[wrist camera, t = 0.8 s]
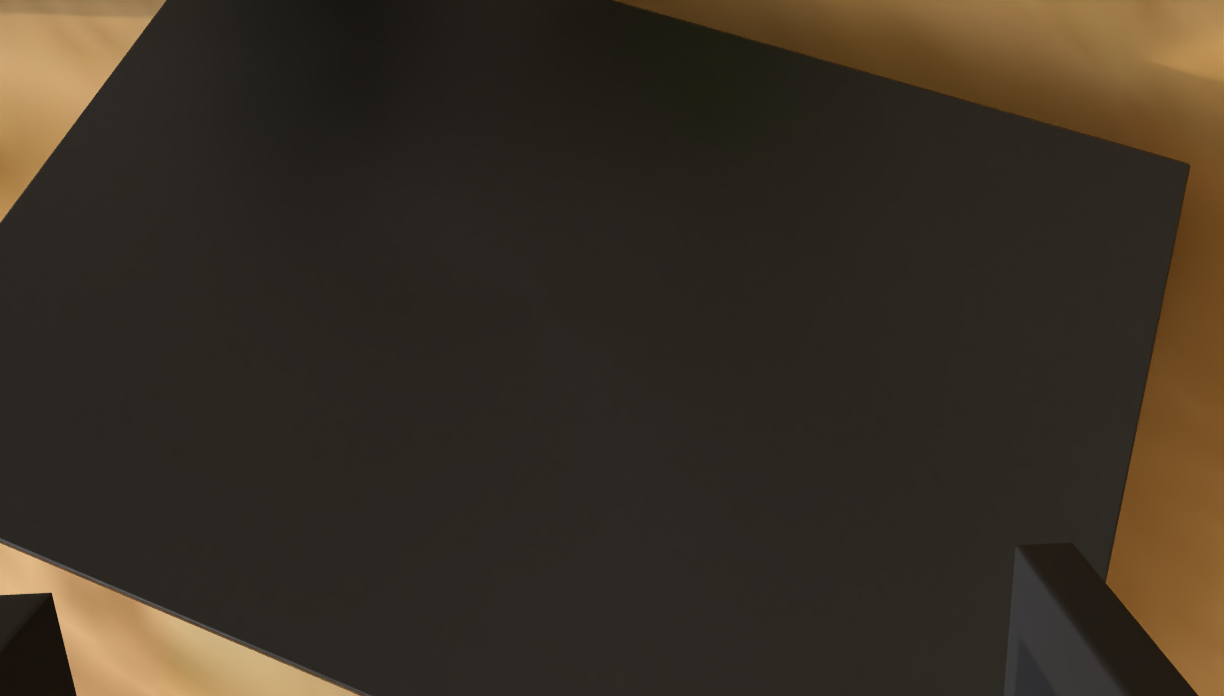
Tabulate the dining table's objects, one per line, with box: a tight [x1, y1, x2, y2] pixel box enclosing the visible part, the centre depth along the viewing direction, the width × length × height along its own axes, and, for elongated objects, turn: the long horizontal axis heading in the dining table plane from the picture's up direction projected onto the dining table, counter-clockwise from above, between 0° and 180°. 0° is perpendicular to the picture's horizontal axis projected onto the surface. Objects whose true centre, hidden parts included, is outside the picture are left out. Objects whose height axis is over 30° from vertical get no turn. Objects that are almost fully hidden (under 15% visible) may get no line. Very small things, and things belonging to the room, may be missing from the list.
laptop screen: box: [0, 0, 1190, 696], centre depth 30 cm, size 21×30×1 cm
